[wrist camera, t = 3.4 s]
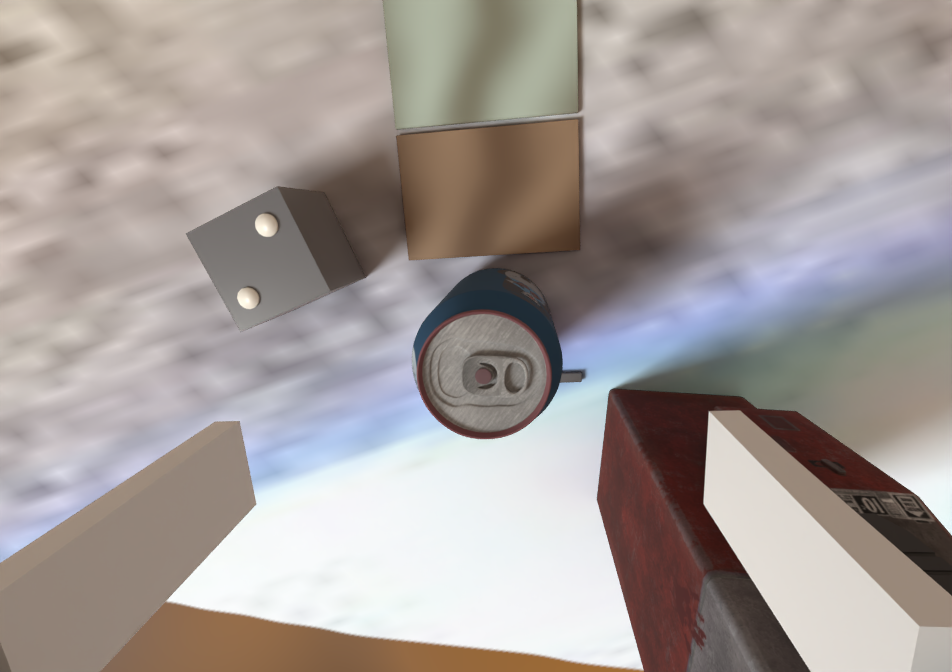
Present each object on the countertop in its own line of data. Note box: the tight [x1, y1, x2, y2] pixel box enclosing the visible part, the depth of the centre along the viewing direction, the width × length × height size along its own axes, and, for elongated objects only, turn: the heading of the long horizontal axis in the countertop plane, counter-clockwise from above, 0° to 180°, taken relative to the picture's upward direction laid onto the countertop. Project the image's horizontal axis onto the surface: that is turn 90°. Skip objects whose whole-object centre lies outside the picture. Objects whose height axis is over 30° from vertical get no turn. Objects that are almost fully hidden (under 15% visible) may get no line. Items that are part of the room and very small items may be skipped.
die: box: [186, 186, 366, 332], centre depth 28 cm, size 6×6×6 cm
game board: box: [383, 0, 582, 383], centre depth 28 cm, size 11×32×1 cm, turn 4°
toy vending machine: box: [597, 389, 952, 672], centre depth 18 cm, size 9×11×28 cm
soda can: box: [412, 268, 563, 439], centre depth 25 cm, size 7×7×12 cm
